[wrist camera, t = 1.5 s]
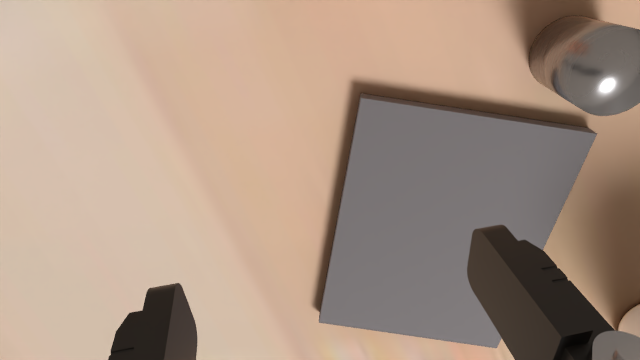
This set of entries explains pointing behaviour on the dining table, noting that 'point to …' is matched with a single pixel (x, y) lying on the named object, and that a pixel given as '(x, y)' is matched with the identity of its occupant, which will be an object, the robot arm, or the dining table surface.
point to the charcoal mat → (438, 211)
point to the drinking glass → (631, 322)
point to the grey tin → (589, 64)
